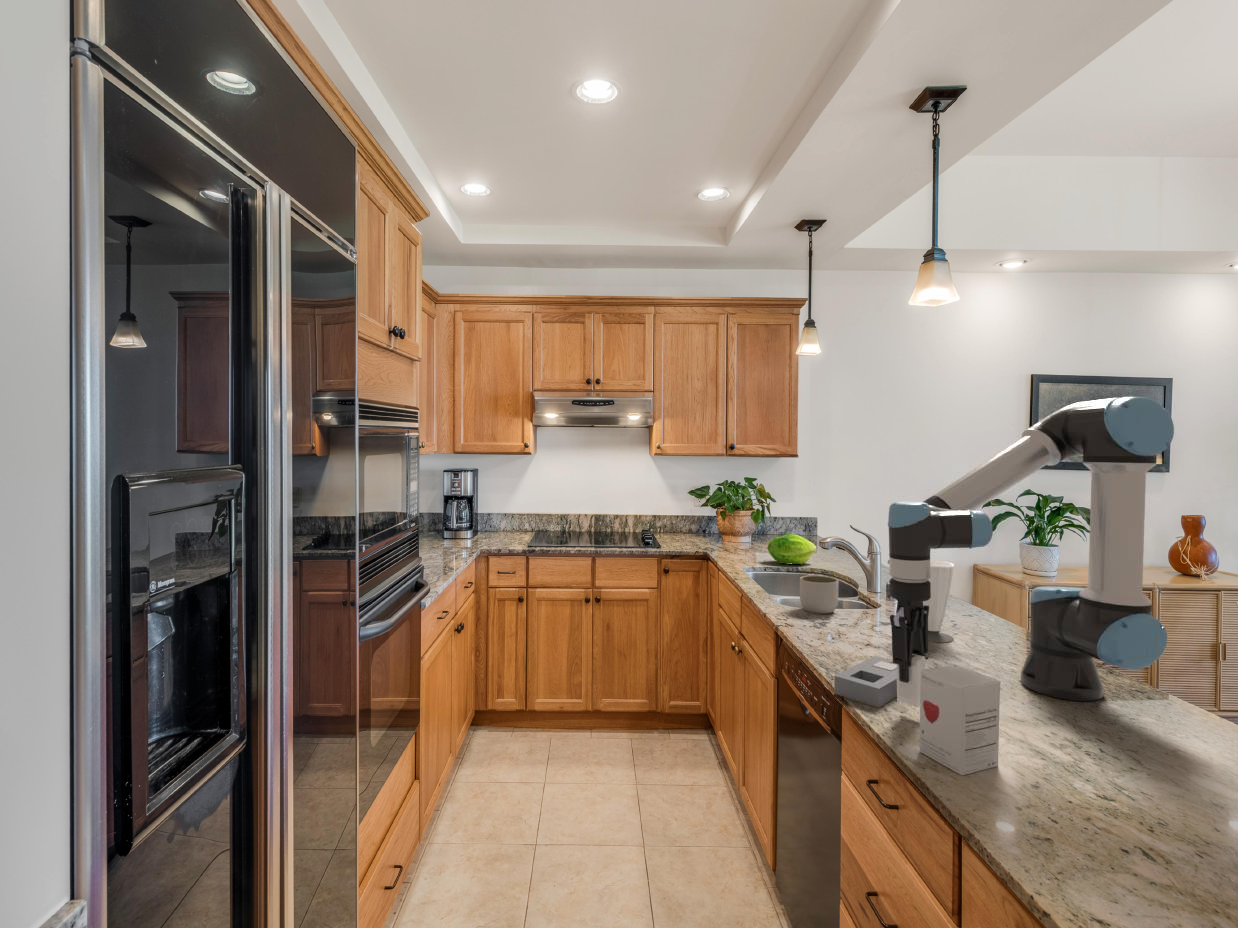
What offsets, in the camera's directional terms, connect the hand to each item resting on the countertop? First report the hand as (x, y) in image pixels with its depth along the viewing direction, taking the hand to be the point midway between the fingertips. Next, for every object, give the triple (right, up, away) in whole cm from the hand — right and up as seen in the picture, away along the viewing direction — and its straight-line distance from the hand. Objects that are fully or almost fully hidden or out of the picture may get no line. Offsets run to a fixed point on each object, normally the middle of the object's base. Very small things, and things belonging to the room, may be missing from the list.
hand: (911, 693), depth 124 cm
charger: (0, -2, 0) cm, 2 cm away
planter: (+8, -3, +82) cm, 83 cm away
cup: (+32, -4, +54) cm, 62 cm away
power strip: (-1, -5, +15) cm, 16 cm away
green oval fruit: (+24, -2, +169) cm, 171 cm away
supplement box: (0, -5, -17) cm, 18 cm away
